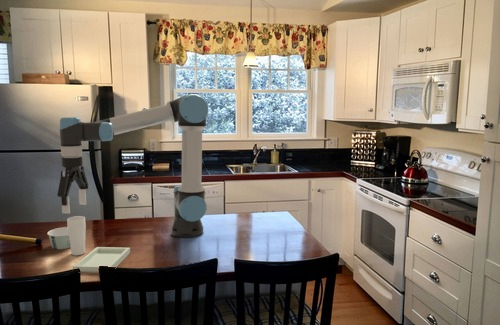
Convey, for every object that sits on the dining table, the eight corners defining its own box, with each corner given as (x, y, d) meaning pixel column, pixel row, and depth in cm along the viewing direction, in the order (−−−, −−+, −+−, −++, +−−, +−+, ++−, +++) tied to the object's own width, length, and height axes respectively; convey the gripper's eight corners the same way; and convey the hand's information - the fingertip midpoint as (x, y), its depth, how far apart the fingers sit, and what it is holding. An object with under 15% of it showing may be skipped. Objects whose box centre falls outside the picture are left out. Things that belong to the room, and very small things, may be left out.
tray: (130, 252, 164) (130, 247, 164) (110, 273, 144) (110, 267, 144) (97, 252, 165) (96, 247, 165) (73, 272, 145) (72, 266, 145)
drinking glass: (80, 257, 159) (78, 221, 157) (65, 256, 161) (63, 220, 159) (90, 251, 166) (88, 216, 164) (76, 250, 167) (73, 215, 165)
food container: (67, 251, 166) (66, 236, 165) (42, 249, 168) (40, 234, 167) (84, 241, 178) (83, 227, 177) (60, 240, 180) (59, 226, 179)
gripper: (78, 152, 170) (80, 201, 173) (44, 160, 145) (48, 217, 148) (95, 152, 170) (97, 201, 173) (64, 160, 145) (68, 217, 148)
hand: (74, 208), depth 161 cm, fingers open, 13 cm apart
